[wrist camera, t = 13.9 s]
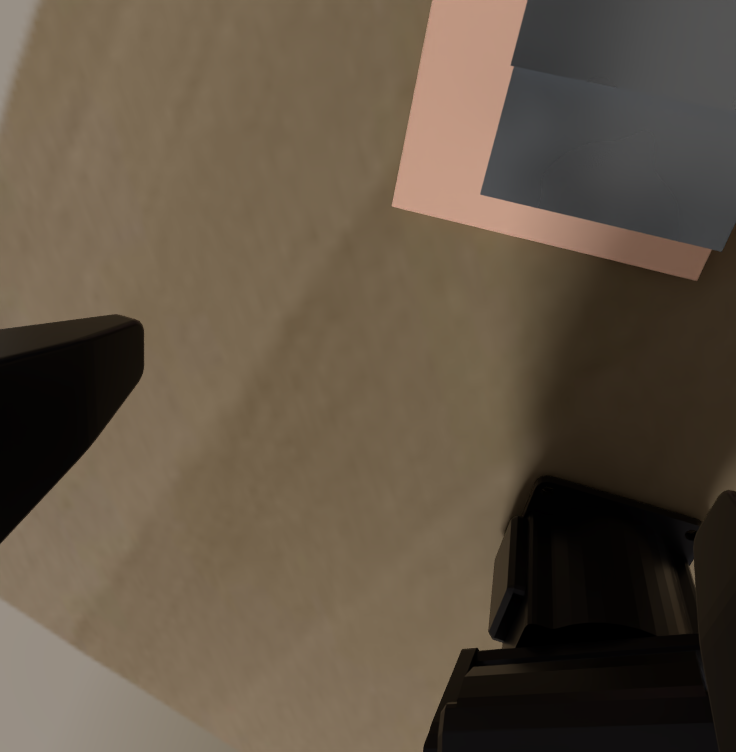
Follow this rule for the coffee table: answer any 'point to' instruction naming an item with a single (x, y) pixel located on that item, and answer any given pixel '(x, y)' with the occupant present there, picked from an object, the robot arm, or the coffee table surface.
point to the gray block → (623, 116)
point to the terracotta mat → (476, 137)
